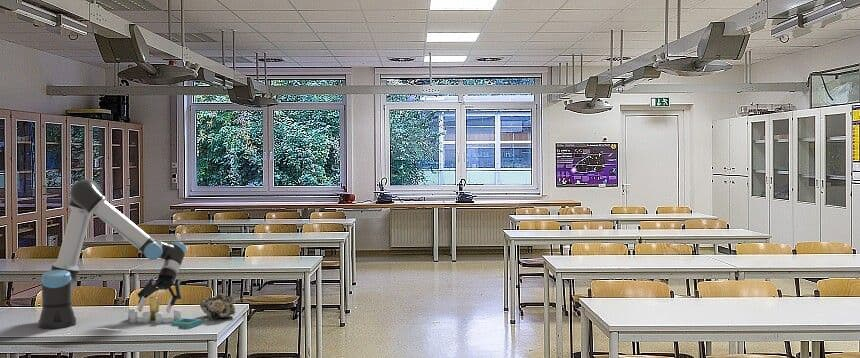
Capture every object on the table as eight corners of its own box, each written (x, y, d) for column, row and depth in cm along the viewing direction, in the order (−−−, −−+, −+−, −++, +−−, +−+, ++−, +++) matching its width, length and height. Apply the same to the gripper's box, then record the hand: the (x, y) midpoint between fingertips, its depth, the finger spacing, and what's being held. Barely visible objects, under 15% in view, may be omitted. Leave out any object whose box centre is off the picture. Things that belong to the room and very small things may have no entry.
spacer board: (117, 324, 365) (117, 312, 365) (134, 318, 379) (134, 306, 378) (170, 326, 360) (170, 314, 360) (186, 320, 374) (185, 308, 374)
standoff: (148, 320, 370) (147, 297, 370) (153, 318, 374) (153, 296, 374) (155, 320, 369) (155, 298, 369) (161, 319, 373) (160, 296, 372)
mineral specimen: (233, 313, 390) (233, 291, 389) (236, 320, 373) (236, 297, 373) (198, 315, 385) (198, 293, 385) (200, 322, 368) (200, 300, 368)
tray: (171, 327, 359) (171, 322, 359) (184, 322, 368) (184, 318, 368) (188, 328, 356) (188, 323, 356) (201, 324, 364) (201, 319, 364)
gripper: (197, 277, 385) (182, 316, 370) (147, 276, 389) (130, 314, 375) (191, 267, 379) (176, 306, 365) (140, 266, 384) (124, 305, 369)
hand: (153, 310), depth 370 cm, fingers open, 13 cm apart
